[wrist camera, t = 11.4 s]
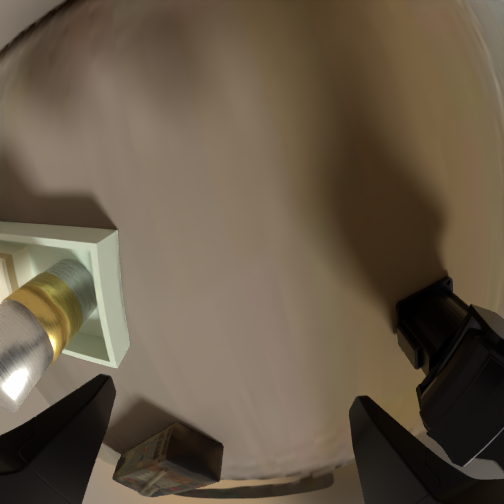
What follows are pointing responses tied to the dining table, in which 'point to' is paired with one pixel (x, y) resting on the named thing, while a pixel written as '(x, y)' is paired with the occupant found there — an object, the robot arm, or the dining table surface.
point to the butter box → (13, 268)
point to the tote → (104, 274)
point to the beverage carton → (170, 463)
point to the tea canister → (41, 326)
